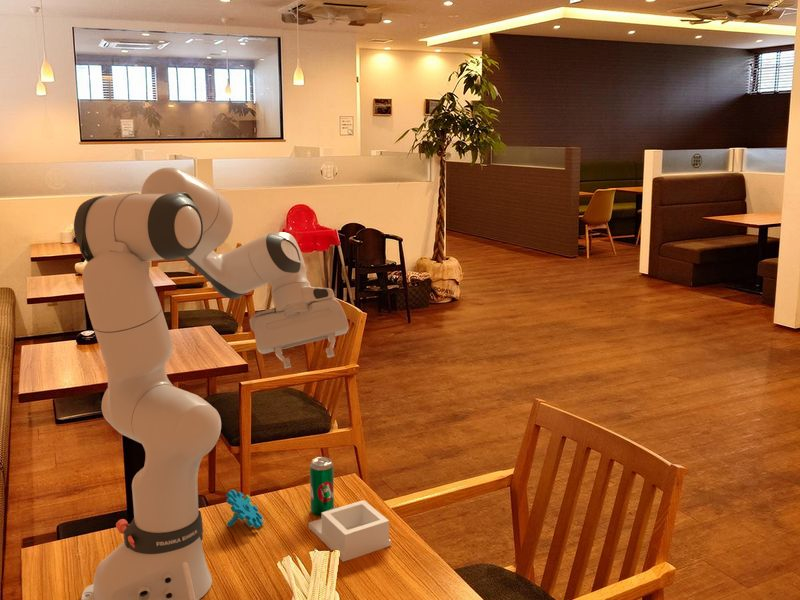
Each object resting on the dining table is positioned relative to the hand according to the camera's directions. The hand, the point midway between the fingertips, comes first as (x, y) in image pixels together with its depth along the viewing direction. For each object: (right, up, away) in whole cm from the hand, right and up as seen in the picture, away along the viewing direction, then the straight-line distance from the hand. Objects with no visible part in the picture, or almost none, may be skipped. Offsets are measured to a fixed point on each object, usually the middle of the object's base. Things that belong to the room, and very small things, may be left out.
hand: (309, 361), depth 164 cm
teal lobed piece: (-13, -34, -1) cm, 37 cm away
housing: (+9, -35, -6) cm, 37 cm away
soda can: (+2, -33, +4) cm, 34 cm away
